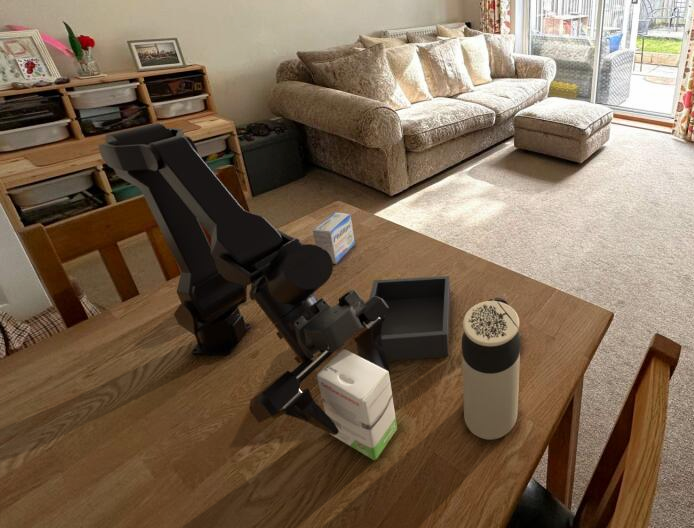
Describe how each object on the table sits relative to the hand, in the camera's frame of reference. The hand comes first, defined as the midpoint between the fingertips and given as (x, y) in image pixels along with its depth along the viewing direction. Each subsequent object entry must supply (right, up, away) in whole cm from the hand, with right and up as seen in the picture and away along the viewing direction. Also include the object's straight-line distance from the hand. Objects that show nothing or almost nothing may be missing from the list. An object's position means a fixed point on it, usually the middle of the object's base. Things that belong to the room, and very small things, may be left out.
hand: (364, 402), depth 54 cm
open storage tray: (+1, +1, +21) cm, 21 cm away
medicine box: (-21, +9, +40) cm, 46 cm away
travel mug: (+17, -6, +6) cm, 19 cm away
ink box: (-1, -6, +3) cm, 7 cm away
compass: (+19, -1, +18) cm, 26 cm away
